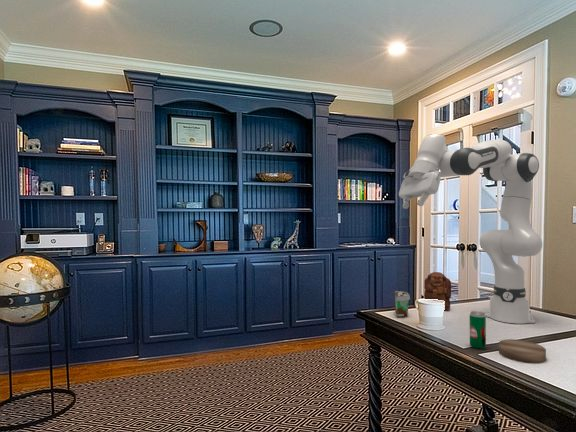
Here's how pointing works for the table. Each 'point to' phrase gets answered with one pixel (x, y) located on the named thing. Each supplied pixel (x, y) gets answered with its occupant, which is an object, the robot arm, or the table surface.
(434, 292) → the wooden figurine
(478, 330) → the soda can
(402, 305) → the food container
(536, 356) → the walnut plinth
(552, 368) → the table surface
